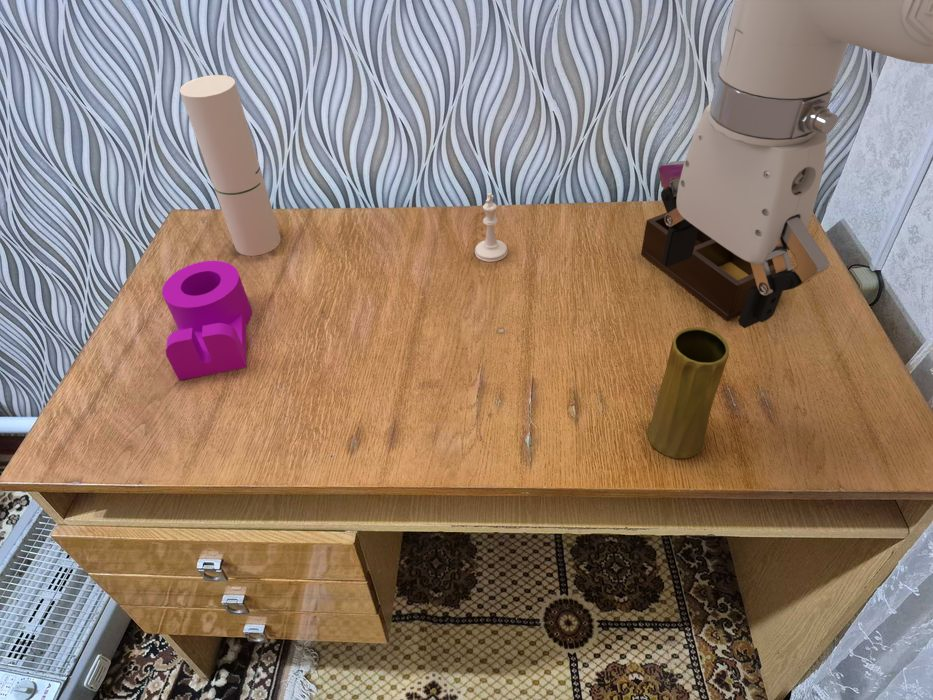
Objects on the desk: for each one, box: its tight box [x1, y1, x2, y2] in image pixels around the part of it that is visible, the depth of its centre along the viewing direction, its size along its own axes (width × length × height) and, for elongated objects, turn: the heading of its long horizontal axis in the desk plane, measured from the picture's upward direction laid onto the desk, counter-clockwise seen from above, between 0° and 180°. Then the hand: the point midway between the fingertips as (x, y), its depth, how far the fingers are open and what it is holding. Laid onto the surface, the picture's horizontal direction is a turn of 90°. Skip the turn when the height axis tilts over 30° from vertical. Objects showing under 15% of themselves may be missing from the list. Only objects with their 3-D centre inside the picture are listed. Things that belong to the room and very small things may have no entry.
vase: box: [647, 326, 730, 460], centre depth 68 cm, size 6×6×14 cm
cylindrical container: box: [179, 74, 282, 257], centre depth 96 cm, size 7×7×25 cm
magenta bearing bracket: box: [161, 260, 253, 381], centre depth 88 cm, size 16×10×6 cm, turn 14°
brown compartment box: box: [640, 212, 776, 322], centre depth 91 cm, size 9×17×6 cm, turn 28°
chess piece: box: [474, 192, 509, 263], centre depth 96 cm, size 5×5×10 cm
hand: (713, 289), depth 59 cm, fingers open, 9 cm apart
